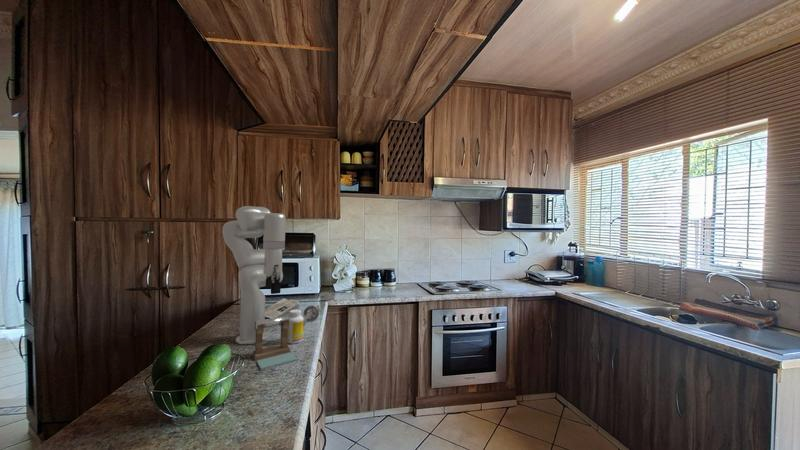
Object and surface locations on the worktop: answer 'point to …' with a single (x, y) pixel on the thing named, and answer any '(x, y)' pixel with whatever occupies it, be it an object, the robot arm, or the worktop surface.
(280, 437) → the worktop surface
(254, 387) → the worktop surface
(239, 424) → the worktop surface
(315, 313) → the spaceship
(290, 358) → the rubber mat
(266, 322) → the steel rail
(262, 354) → the walnut rack
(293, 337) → the supplement bottle
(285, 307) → the newspaper
